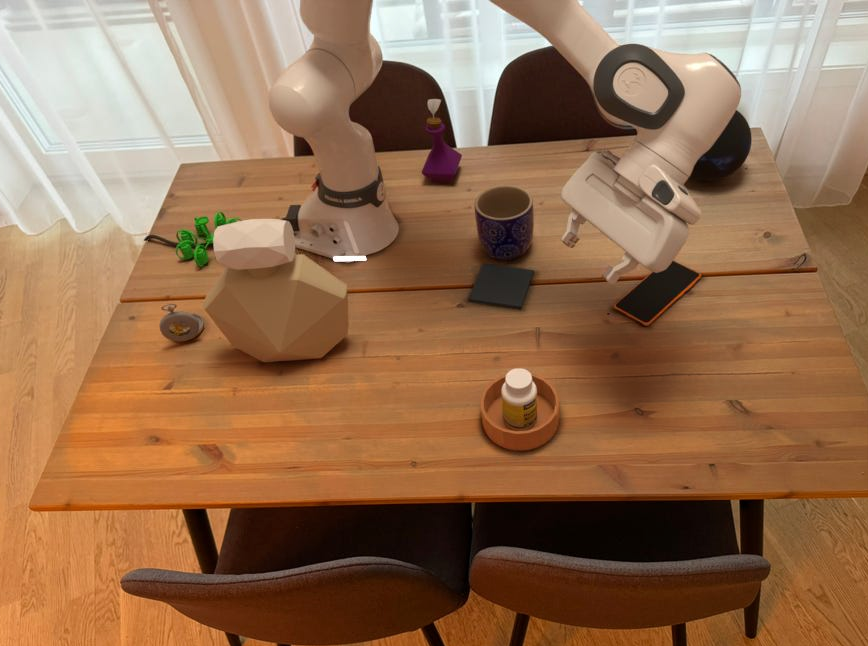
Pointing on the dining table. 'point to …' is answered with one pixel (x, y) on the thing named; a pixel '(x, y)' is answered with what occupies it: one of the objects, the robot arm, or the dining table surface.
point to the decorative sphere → (725, 151)
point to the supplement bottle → (519, 400)
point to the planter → (504, 221)
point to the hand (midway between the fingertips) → (586, 262)
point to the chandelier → (201, 228)
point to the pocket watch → (180, 325)
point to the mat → (501, 286)
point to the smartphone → (657, 293)
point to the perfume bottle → (439, 150)
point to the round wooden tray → (520, 438)
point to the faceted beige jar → (274, 294)
